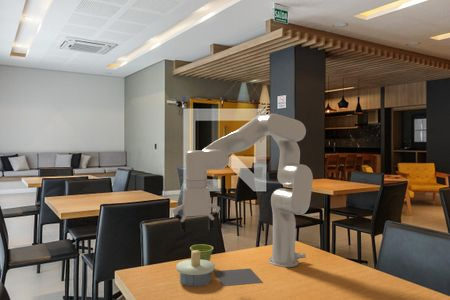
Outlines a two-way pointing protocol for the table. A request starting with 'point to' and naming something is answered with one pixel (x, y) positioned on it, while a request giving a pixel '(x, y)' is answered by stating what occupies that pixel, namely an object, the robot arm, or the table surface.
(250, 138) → the robot arm
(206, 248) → the plant pot
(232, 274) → the mat
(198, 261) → the lid
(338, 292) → the table surface
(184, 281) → the bowl
